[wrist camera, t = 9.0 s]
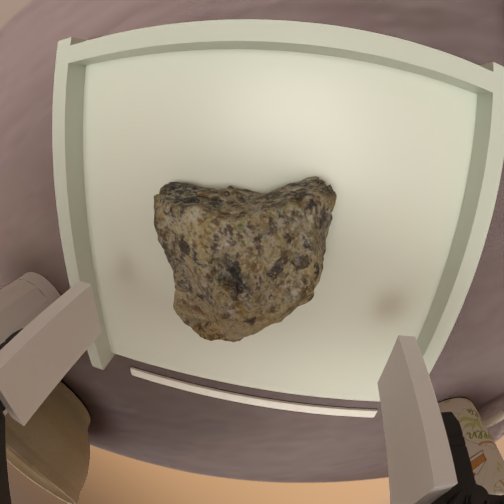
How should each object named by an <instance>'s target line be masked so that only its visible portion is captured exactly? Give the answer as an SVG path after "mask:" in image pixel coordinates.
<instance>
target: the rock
mask: <svg viewBox="0 0 504 504" xmlns="http://www.w3.org/2000/svg"><path fill="white" fill-rule="evenodd" d="M336 197H337V195H336V193H335V191H333V189H332V187H331V185H328V186H327V185H326V184H325V182H324V181H323V180H319V177H316V176H315V177H307V178H306V179H304V180H302V181H300V182H297V183H289V184H288V185H286V186H283V187H280V188H278V189H276V190H273V191H271V192H269V193H267V194H262V193H258V192H253V191H250V190H247V189H239V188H236V189H235V188H234V187H232V186H231V185H230V186H228V187H227V188H226V189H225V188H224V189H222V190H217V189H215V188H204V187H200V186H196V185H192V184H189V183H179V182H169V183H168V184H165V185H164V186H163V187H161V188H160V191H159V194H156V195H155V196H154V206H153V207H154V212H155V213H154V227H155V230H156V232H157V234H158V241H159V243H160V244H161V246H162V248H163V249H164V253H165V255H166V257H167V260H168V262H169V264H170V265H171V268H172V270H173V277H174V282H175V289H176V290H175V294H174V303H173V308H174V310H175V311H176V313H177V315H178V316H179V317H180V318H181V320H182V321H183V322H184V324H186V325H188V326H190V327H191V328H192V330H193V331H194V332H196V333H197V334H198V335H199V336H200V337H201V338H203V339H206V340H210V341H213V340H224V341H231V342H236V341H241V339H243V338H244V337H248V336H250V335H254V334H256V333H258V332H259V331H261V330H263V329H264V328H265V327H268V326H269V325H271V324H274V323H278V322H282V321H283V319H284V318H285V317H287V316H288V315H290V314H291V313H292V312H293V311H294V310H295V309H296V308H297V307H298V306H301V305H303V304H306V303H307V302H309V301H311V300H312V298H313V297H314V289H315V287H316V286H317V284H318V283H319V281H320V277H321V273H322V270H323V260H324V257H323V256H324V254H325V252H326V238H327V236H328V231H329V227H330V224H331V221H332V219H333V218H332V211H333V208H334V206H335V202H336Z"/></svg>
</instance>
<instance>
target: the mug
mask: <svg viewBox="0 0 504 504" xmlns="http://www.w3.org/2000/svg"><path fill="white" fill-rule="evenodd" d="M438 405H439V409H440V412H452V413H453V414H454V416H455V417H456V418H457V420H458V421H459V423H460V426H461V429H462V432H463V437H464V439H465V443H466V444H465V446H467V450H468V454H469V458H470V461H471V465H472V470H473V474H474V478H475V481H476V484H477V485H481V486H483V487H484V488H485V489H486V490H487V492H488V494H491V495H504V460H503V458H502V456H501V454H500V453H499V450H498V448H497V447H496V444H495V443H494V441H493V439H492V437H491V435H490V433H489V431H488V429H487V428H488V427H490V426H492V425H494V424H496V423H498V422H500V421H501V420H503V419H504V410H501V411H499V412H497V413H496V414H494V415H492V416H490V417H489V418H487V419H486V420H484V421H483V420H482V418H481V417H480V415H479V413H478V411H477V410H476V408H475V406H474V405H473V403H472V402H471V401H470V400H468V399H466V398H453V399H448V400H445V401H442V402H439V403H438Z"/></svg>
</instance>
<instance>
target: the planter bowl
mask: <svg viewBox="0 0 504 504" xmlns="http://www.w3.org/2000/svg"><path fill="white" fill-rule="evenodd" d="M89 424H90V415H89V413H88V411H87V409H86V408H85V406H84V405H83V404H82V402H81V401H80V400H79V399H78V398H77V397H76V395H75V394H74V393H73V392H72V391H71V390H70V389H69V388H68V387H67V386H65V385H64V384H63V383H62V382H61V381H60V382H59V383H58V384H57V385H56V387H55V388H54V389H53V390H52V392H51V393H50V394H49V395H48V397H47V398H46V399H45V400H44V402H43V403H42V404H41V405H40V407H39V408H38V409H37V410H36V412H35V413H34V414H33V415H32V417H31V418H30V419H29V421H28V422H27V423H26V424H25V426H23V425H22V424H20V423H19V422H17V421H16V420H14V419H13V418H12V417H11V416H10V414H9V413H8V412H7V414H6V415H5V440H6V460H8V462H10V463H11V464H12V465H13V466H14V467H15V468H17V469H18V470H19V471H20V472H21V473H23V474H24V475H25V476H27V477H28V478H29V479H30V480H32V481H33V482H35V483H36V484H37V485H39V486H40V487H42V488H44V489H45V490H46V491H48V492H50V493H51V494H53V495H54V496H56V497H58V498H59V499H61V500H63V501H65V502H67V503H69V504H77V502H78V499H79V494H80V491H81V489H82V487H83V485H84V483H85V480H86V477H87V473H88V467H89V459H90V443H89V435H88V430H87V429H88V427H89Z"/></svg>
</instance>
